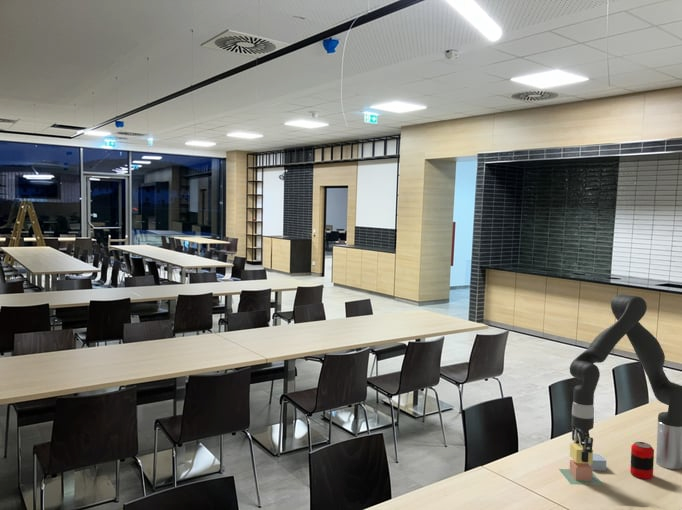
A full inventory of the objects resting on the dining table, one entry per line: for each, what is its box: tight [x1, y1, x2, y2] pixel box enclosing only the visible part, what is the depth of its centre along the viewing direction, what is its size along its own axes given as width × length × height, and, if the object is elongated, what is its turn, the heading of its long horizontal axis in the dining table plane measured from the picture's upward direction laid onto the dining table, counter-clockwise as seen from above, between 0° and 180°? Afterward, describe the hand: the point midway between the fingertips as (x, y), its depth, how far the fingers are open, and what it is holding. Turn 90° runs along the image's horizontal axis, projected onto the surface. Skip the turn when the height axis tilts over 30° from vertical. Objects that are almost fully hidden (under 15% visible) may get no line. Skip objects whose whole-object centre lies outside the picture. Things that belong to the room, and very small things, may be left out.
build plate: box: [558, 468, 605, 486], centre depth 199 cm, size 12×12×1 cm
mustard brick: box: [569, 442, 594, 463], centre depth 199 cm, size 6×6×5 cm
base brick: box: [569, 459, 594, 481], centre depth 199 cm, size 6×6×5 cm
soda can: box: [629, 441, 655, 480], centre depth 203 cm, size 8×8×12 cm
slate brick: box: [589, 453, 607, 471], centre depth 208 cm, size 6×6×5 cm
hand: (581, 457), depth 199 cm, fingers closed on mustard brick, 6 cm apart
